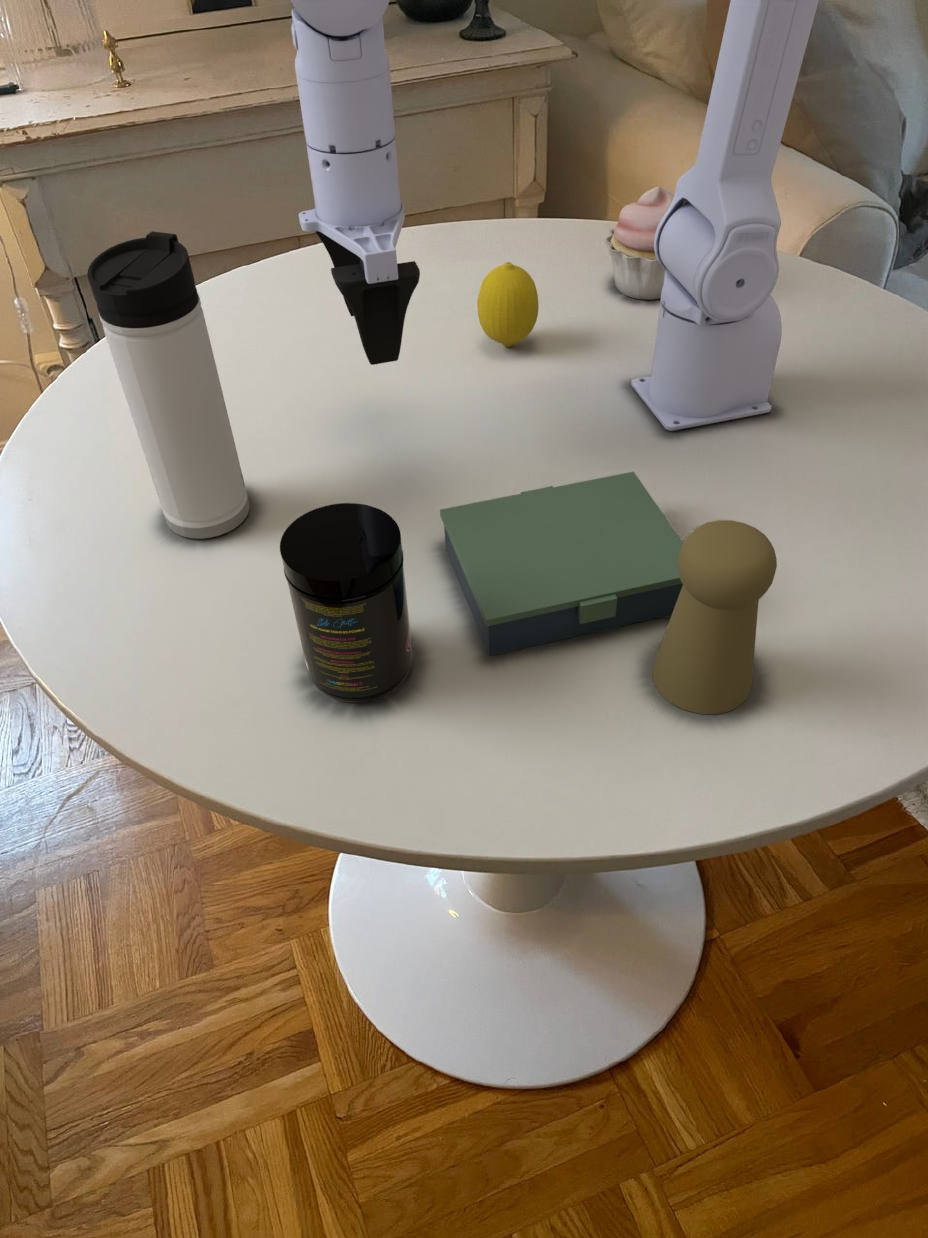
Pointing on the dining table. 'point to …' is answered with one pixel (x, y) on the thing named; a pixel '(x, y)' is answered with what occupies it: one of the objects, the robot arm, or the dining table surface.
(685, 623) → the brown pawn
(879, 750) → the dining table surface
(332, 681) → the supplement container
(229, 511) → the travel mug
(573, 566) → the lunchbox
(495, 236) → the dining table surface
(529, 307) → the lemon
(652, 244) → the cupcake
